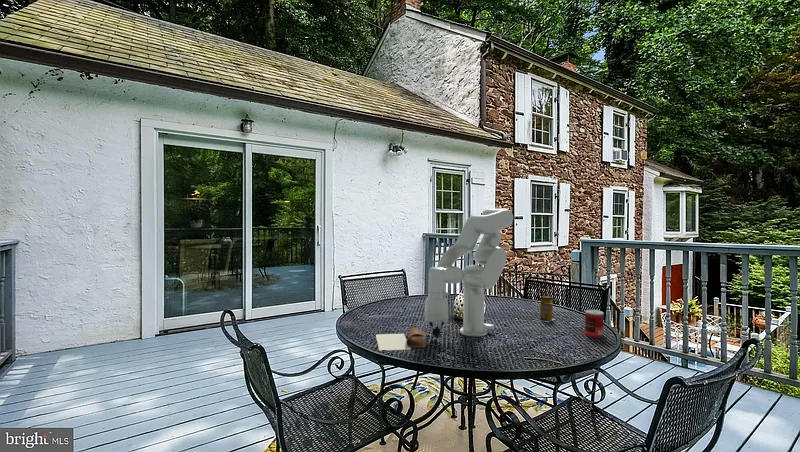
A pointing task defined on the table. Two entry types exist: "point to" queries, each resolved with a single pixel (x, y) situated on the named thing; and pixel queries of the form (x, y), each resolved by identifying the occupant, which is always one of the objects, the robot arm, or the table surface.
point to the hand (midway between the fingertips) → (436, 336)
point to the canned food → (594, 323)
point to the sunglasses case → (416, 338)
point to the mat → (392, 342)
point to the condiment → (546, 309)
